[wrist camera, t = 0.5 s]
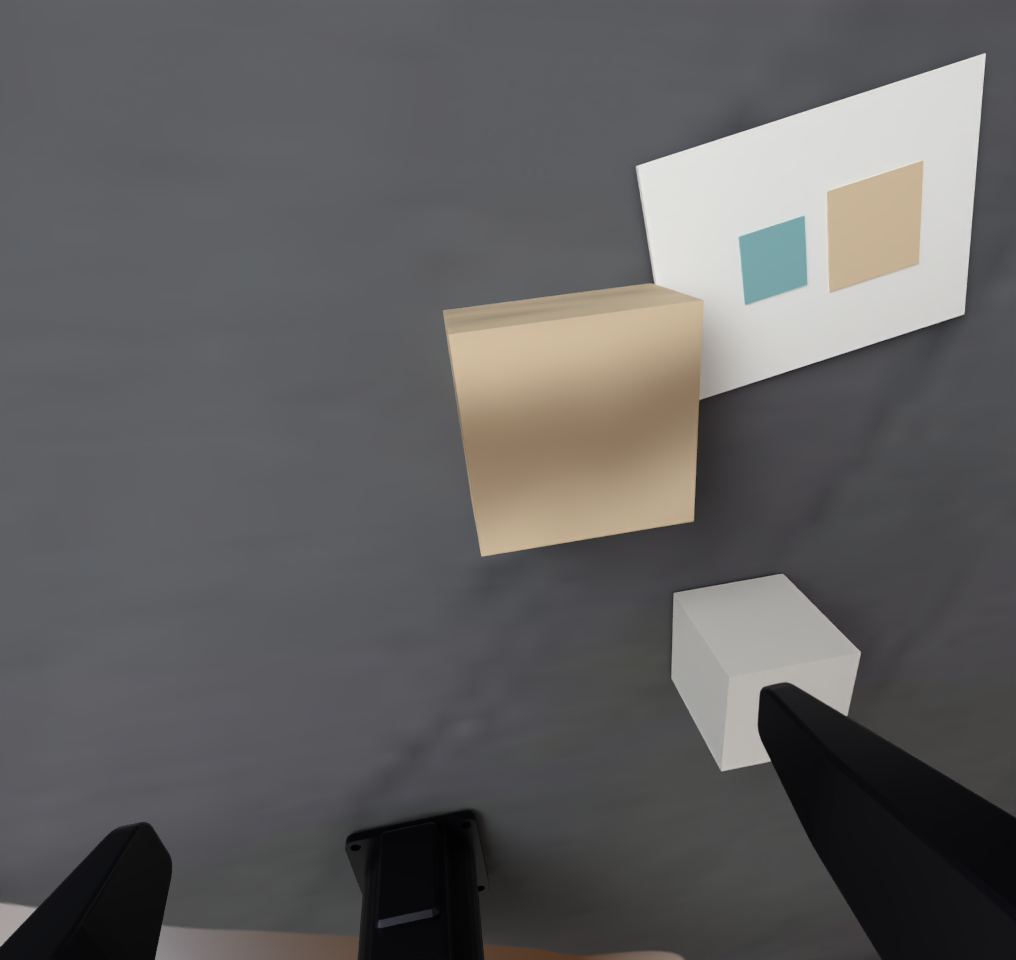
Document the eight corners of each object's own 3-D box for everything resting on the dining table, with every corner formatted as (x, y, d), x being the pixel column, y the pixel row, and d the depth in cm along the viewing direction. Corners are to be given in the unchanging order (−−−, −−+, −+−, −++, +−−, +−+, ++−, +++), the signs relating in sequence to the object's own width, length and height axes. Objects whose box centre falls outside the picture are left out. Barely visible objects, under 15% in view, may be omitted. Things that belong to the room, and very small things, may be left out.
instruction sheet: (960, 313, 21) (965, 314, 21) (674, 406, 21) (676, 408, 21) (980, 54, 17) (987, 52, 17) (635, 166, 17) (638, 165, 17)
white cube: (771, 659, 27) (840, 747, 23) (671, 678, 27) (721, 771, 23) (782, 573, 25) (861, 652, 21) (673, 593, 25) (729, 677, 20)
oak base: (649, 470, 22) (693, 521, 19) (471, 499, 22) (481, 556, 18) (650, 283, 19) (703, 300, 16) (442, 310, 19) (448, 334, 15)
